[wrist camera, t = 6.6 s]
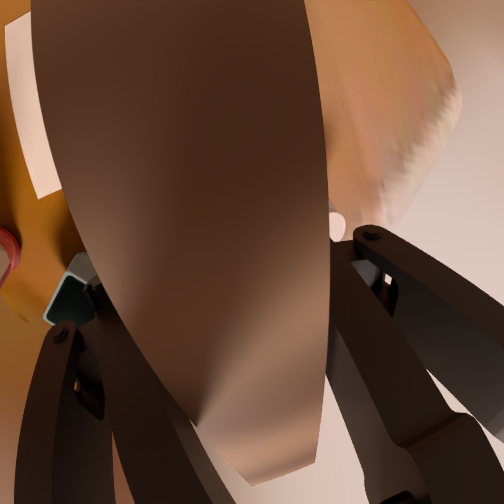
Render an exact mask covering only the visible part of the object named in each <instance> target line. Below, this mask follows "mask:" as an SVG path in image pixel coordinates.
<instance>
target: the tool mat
mask: <svg viewBox="0 0 504 504" xmlns="http://www.w3.org/2000/svg"><path fill="white" fill-rule="evenodd" d="M5 44H6V60H7V71H8V80H9V87H10V94H11V100H12V106H13V111H14V116H15V121H16V126H17V130H18V134H19V138H20V142H21V146H22V150H23V154H24V157H25V161H26V164H27V167H28V170H29V174H30V177H31V180H32V183H33V186H34V189H35V191H36V194H37V197H38V199H40V198H42V197H44V196H46V195H48V194H50V193H52V192H55V191H57V190H59V189H61V188H62V187H61V184H60V181H59V178H58V174H57V171H56V168H55V165H54V161H53V158H52V154H51V151H50V147H49V143H48V139H47V135H46V131H45V127H44V123H43V118H42V113H41V108H40V103H39V98H38V92H37V85H36V79H35V71H34V63H33V53H32V39H31V11H30V12H28V13H26V14H25V15H23V16H21V17H19V18H18V19H16V20H14V21H13V22H11V23H9V24H8V25H6V26H5Z"/></svg>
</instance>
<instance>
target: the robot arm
mask: <svg viewBox="0 0 504 504" xmlns="http://www.w3.org/2000/svg"><path fill="white" fill-rule="evenodd" d="M386 274H388V275H389V276H390V277H392V280H391V284H388V283H386V282H385V275H386ZM83 292H84V294H85V296H86V298H87V299H88V301H89V303H90V305H91V306H92V308H93V310H94V311H95V318H94V319H93V320H91V321H89V322H88V323H86V324H84V325H82V326H81V327H79V328H77V326H76V325H75V323H74V322H73V321H71V320H64V321H61V322H58V323H56V325H54V326H52V328H51V329H50V330H49V331H48V333H47V335H46V336H45V339H44V341H43V345H42V347H41V351H40V353H39V357H38V360H37V363H36V366H35V370H34V373H33V377H32V380H31V384H30V388H29V392H28V396H27V400H26V405H25V409H24V414H23V419H22V425H21V430H20V436H19V443H18V451H17V459H16V469H15V486H14V504H116V501H115V491H114V477H113V456H112V432H113V436H114V440H115V444H116V448H117V451H118V455H119V458H120V461H121V465H122V468H123V471H124V474H125V477H126V480H127V483H128V486H129V489H130V492H131V494H132V497H133V499H134V502H135V504H236V503H235V501H234V500H233V498H232V496H231V495H230V493H229V492H228V490H227V488H226V487H225V485H224V483H223V482H222V480H221V478H220V477H219V475H218V473H217V471H216V470H215V468H214V466H213V464H212V463H211V461H210V459H209V457H208V456H207V453H206V451H205V450H204V448H203V446H202V444H201V442H200V440H199V438H198V436H197V434H196V432H195V430H194V428H193V426H192V424H191V422H190V420H189V418H188V416H187V415H186V414H185V413H184V411H183V410H182V409H181V408H180V406H179V405H178V404H177V402H176V401H175V400H174V398H173V397H172V396H171V394H170V393H169V392H168V390H167V389H166V388H165V386H164V385H163V383H162V382H161V381H160V379H159V378H158V376H157V375H156V373H155V372H154V370H153V369H152V368H151V366H150V365H149V363H148V362H147V360H146V359H145V357H144V355H143V354H142V352H141V351H140V349H139V348H138V346H137V344H136V343H135V341H134V340H133V338H132V336H131V335H130V333H129V331H128V330H127V328H126V326H125V325H124V323H123V321H122V319H121V318H120V316H119V314H118V312H117V311H116V309H115V307H114V305H113V303H112V301H111V300H110V298H109V296H108V294H107V292H106V290H105V288H104V286H103V284H102V282H101V280H100V278H99V276H98V275H96V276H94V277H93V278H92V279H90V280H89V281H88V282H87V284H86V285H85V286H84V289H83ZM426 369H427V370H428V371H429V372H430V373H431V374H432V375H433V376H434V377H435V378H436V379H437V380H438V381H439V382H440V383H441V384H442V385H444V387H445V388H446V389H447V390H448V391H450V393H451V394H453V396H454V397H455V398H457V400H458V401H459V402H460V403H461V404H462V405H463V406H464V407H465V408H466V409H467V410H468V411H469V412H470V413H471V414H472V415H473V416H474V417H475V418H476V419H477V420H478V421H479V422H480V423H481V424H482V425H483V426H484V427H485V428H486V429H487V430H488V431H489V432H490V433H491V434H492V435H493V436H495V437H496V438H497V439H499V440H500V441H502V442H503V443H504V306H503V305H502V304H500V303H499V302H497V301H496V300H495V299H493V298H492V297H490V296H489V295H488V294H487V293H485V292H484V291H482V290H481V289H480V288H478V287H477V286H475V285H474V284H473V283H471V282H470V281H468V280H467V279H465V278H464V277H462V276H461V275H459V274H458V273H456V272H455V271H453V270H452V269H450V268H449V267H447V266H446V265H444V264H443V263H441V262H440V261H438V260H436V259H435V258H433V257H431V256H430V255H428V254H427V253H425V252H423V251H422V250H420V249H419V248H417V247H415V246H414V245H412V244H410V243H409V242H407V241H405V240H404V239H402V238H400V237H398V236H397V235H395V234H393V233H392V232H390V231H388V230H386V229H385V228H382V227H380V226H375V225H364V226H360V227H358V228H356V229H355V230H354V232H353V240H348V241H340V242H334V241H333V240H332V239H331V238H330V297H329V325H328V344H327V359H326V372H325V373H326V376H327V378H328V381H329V384H330V386H331V389H332V391H333V394H334V396H335V399H336V401H337V404H338V406H339V409H340V411H341V414H342V417H343V419H344V421H345V424H346V427H347V430H348V432H349V435H350V437H351V440H352V443H353V445H354V448H355V451H356V453H357V456H358V458H359V461H360V464H361V467H362V469H363V472H364V485H365V491H366V495H367V498H368V501H369V504H504V471H503V469H502V467H501V464H500V463H499V460H498V458H497V456H496V454H495V452H494V450H493V448H492V446H491V444H490V443H489V441H488V439H487V437H486V435H485V433H484V431H483V430H482V428H481V426H480V425H479V423H478V422H477V421H476V419H475V418H474V417H472V416H471V415H469V414H467V413H458V412H454V411H453V410H451V408H450V407H449V406H448V404H447V403H446V401H445V399H444V398H443V396H442V394H441V393H440V391H439V389H438V388H437V386H436V384H435V383H434V381H433V380H432V378H431V376H430V375H429V373H428V372H427V370H426ZM75 382H76V383H77V388H76V391H75V390H74V385H75Z"/></svg>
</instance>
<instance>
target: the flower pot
mask: <svg viewBox="0 0 504 504" xmlns="http://www.w3.org/2000/svg"><path fill="white" fill-rule="evenodd" d="M96 275H98V274H97V272H96V270H95V268H94V266H93V264H92V262H91V259H90V257H89V255H88V253H86V252H80V253H78V254H76V255H75V257H74V258H73V259H72V261H71V263H70V264H69V266H68V268H67V269H66V271H65V273H64V274H63V276H62V278H61V280H60V282H59V284H58V286H57V288H56V290H55V292H54V294H53V296H52V298H51V300H50V302H49V304H48V306H47V308H46V310H45V312H44V314H43V319H44V320H45V321H47V322H48V323H50V324H52V325H56V323H58V322H61V321H64V320H71V321H73V322H74V323H75V325H76V326H77V328H79V327H81V326H82V325H84V324H86V323H88V322H89V321H91V320H93V319H94V318H95V311H94V310H93V308H92V306H91V305H90V303H89V301H88V299H87V298H86V296H85V294H84V292H83V289H84V286H85V285H86V284H87V282H88V281H89V280H90V279H92V278H93V277H94V276H96Z"/></svg>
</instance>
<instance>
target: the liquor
mask: <svg viewBox="0 0 504 504" xmlns="http://www.w3.org/2000/svg"><path fill="white" fill-rule="evenodd" d="M20 256H21V255H20V248H19V245H18V242H17V241H16V239H15V237H14V236H13V235H12V234H11V233H10V232H9V231H7V230H6V229H4V228H0V290H1V288H2V286H3V284H4V282H5V280H6V279H7V277H8V275H9V273H10V272H11V271H12V270H14V269H15V268H16V267H17V266H18V264H19V262H20Z"/></svg>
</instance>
